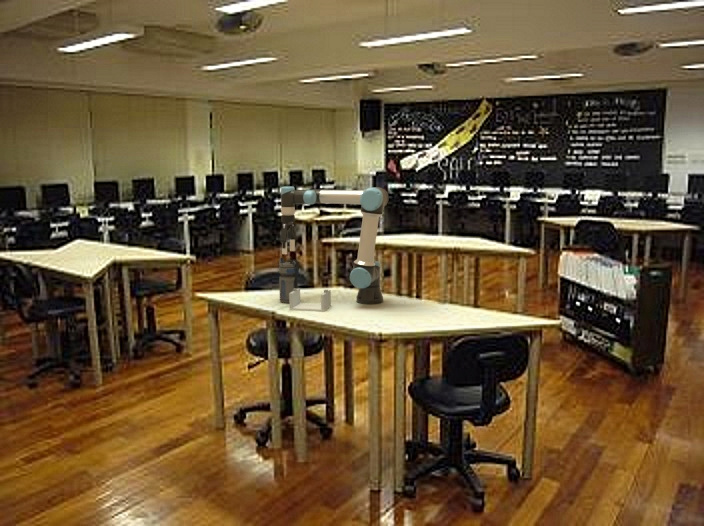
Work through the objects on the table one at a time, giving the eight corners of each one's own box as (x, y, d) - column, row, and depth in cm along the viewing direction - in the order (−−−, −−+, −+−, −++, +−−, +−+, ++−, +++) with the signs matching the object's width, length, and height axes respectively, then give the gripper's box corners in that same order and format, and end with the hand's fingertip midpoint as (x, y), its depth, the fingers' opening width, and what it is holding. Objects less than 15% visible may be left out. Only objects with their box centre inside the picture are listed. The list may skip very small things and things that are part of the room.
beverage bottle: (293, 304, 344) (293, 260, 340) (275, 302, 351) (274, 258, 347) (304, 301, 353) (304, 257, 349) (286, 299, 360) (285, 256, 356)
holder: (330, 305, 340) (330, 287, 339) (324, 311, 327) (323, 292, 325) (297, 304, 345) (297, 286, 343) (289, 309, 331) (289, 291, 330)
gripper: (288, 213, 358) (289, 249, 361) (273, 216, 334) (274, 255, 337) (301, 213, 356) (301, 250, 359) (287, 216, 332) (287, 255, 335)
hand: (288, 252), depth 348 cm, fingers open, 13 cm apart
